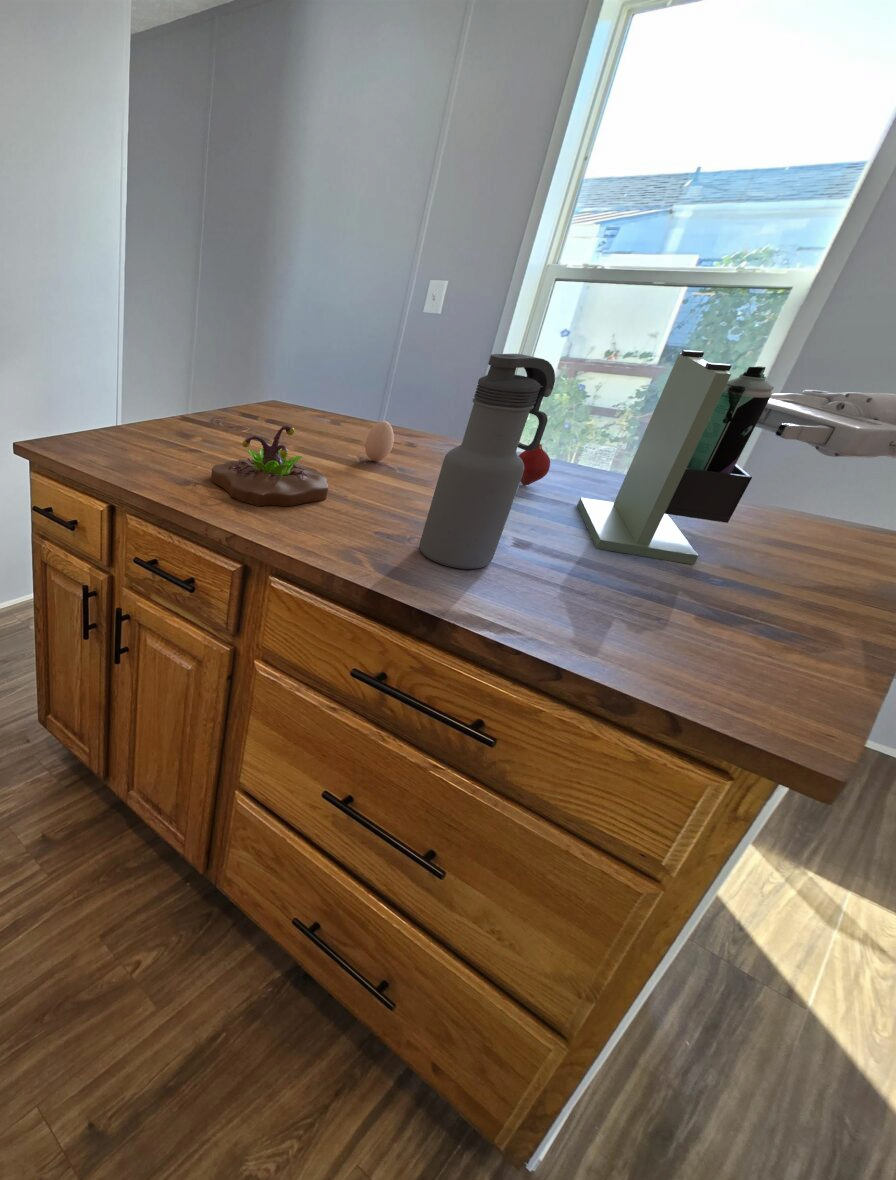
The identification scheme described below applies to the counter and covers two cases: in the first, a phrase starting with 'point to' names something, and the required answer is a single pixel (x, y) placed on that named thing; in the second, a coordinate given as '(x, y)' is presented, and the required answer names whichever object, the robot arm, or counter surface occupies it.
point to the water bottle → (486, 464)
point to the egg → (379, 441)
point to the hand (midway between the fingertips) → (753, 422)
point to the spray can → (732, 422)
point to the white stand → (669, 472)
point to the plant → (270, 476)
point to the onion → (534, 465)
